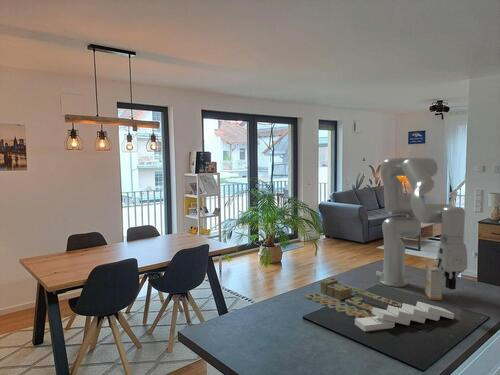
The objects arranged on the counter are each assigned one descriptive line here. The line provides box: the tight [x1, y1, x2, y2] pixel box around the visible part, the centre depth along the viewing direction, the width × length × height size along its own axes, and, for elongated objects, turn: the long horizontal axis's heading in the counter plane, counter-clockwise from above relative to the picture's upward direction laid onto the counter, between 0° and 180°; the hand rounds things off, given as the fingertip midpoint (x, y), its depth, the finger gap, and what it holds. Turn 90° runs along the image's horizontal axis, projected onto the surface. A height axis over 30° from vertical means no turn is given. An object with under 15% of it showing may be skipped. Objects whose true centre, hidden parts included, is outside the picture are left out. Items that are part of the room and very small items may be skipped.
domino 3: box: [386, 304, 427, 324], centre depth 133 cm, size 2×6×12 cm
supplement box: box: [424, 264, 443, 301], centre depth 159 cm, size 8×5×13 cm, turn 168°
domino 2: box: [370, 306, 412, 326], centre depth 131 cm, size 2×6×12 cm
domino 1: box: [354, 316, 396, 332], centre depth 130 cm, size 2×6×12 cm
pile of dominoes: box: [304, 277, 403, 319], centre depth 152 cm, size 35×27×6 cm
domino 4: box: [401, 302, 441, 322], centre depth 135 cm, size 2×6×12 cm
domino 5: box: [415, 301, 455, 320], centre depth 137 cm, size 2×6×12 cm
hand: (450, 288), depth 138 cm, fingers closed
